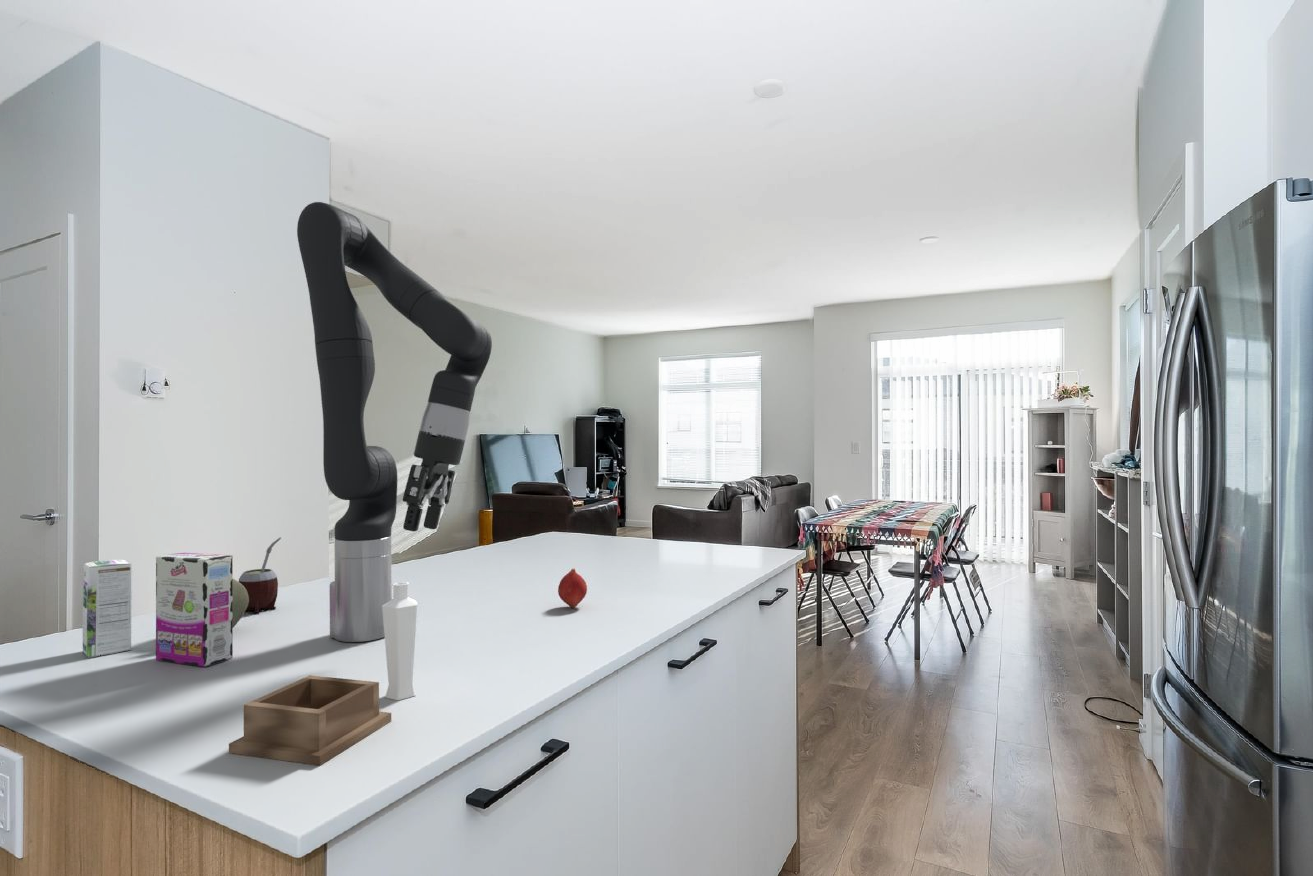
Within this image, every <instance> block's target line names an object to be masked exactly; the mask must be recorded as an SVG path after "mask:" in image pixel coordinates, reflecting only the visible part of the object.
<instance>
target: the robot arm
mask: <svg viewBox="0 0 1313 876" xmlns="http://www.w3.org/2000/svg"><path fill="white" fill-rule="evenodd" d="M296 226H297V227H296V235H297V236H296V237H297V241H298V247H299V252H300V257H301V260H302V261H301V262H302V266H303V270H304V274H305V278H306V282H307V288H308V295H309V302H310V309H311V316H312V317H311V318H312V324H313V332H314V333H313V334H314V346H315V348H314V349H315V356H316V364H317V371H318V376H319V377H318V378H319V385H320V386H319V388H320V389H319V390H320V396H321V397H320V398H321V408H322V410H321V411H322V420H323V427H322V428H323V441H322V442H323V451H322V452H323V458H322V459H323V463H322V464H323V475H324V479H325V482H326V486H327V487H328V490H329V491H330V492H331V493H332V495H334V497H336V498H337V499H340V500H344V501H348V502H349V503H348V507H347V510H346V512H345V513H344V514H343V516H342V517H341V518H339V519H338V520H337V521H336V523H335V524H334V537H333V538H334V543H333V545H334V580H333V581H331V582H330V583H329V638H332V639H335V640H337V641H339V642H344V643H359V642H369V641H374V640H379V639H383V638H385V635H384V623H383V611H382V605H384V604H386V603H387V602H389V601H390V600H392V599H393V598H392V597H393V596H392V594H393V593H392V589H393V585H392V584H393V583H392V529H393V528H392V527H393V524H394V521H395V520H396V519H395V518H396V516H397V501H398V500H397V499H398V468H397V464H396V460H395V459H394V457H393V455H392V453H390V452H389V451H388V450H387V449H385V448H384V447H381V446H378V445H367V440H366V434H365V424H364V422H365V421H364V415H365V414H364V413H365V407H366V404H367V400H368V397H369V394H370V392H371V389H372V385H373V382H374V377H375V373H376V363H375V362H376V360H375V355H374V345H373V337H372V332H371V330H370V327H369V325H368V322H367V320H366V317H365V316H364V314H363V312H362V310H361V308H360V306H359V305H358V302H357V301H356V299H355V297H354V295H353V293H352V290H351V288H350V285H349V281H348V279H347V278H348V277H347V274H346V273H347V272H346V267H348V268H349V269H352V270H353V271H355V272H356V273H358V274H360V275H362V276H363V277H365V278H367V279H368V280H369V281H370V282H372V283H373V284H374V285H375V286H376V287H377V289H378V290H379V292H380V293H381V294H382V296H383V297H384V298H385V300H386V301H387V302H388V303H389V304H390V305H391V306H392V307H393V308H394V309H395V310H396V311H397V312H399V314H401V316H403V317H405V318H406V319H407V320H408V321H410V322H411V323H412V324H413V325H415V326H416V327H417V328H419V329H420V330H422V331H423V333H424V334H425V335H427V336H428V337H429V339H431V340H432V341H433V343H435V344H436V345H437V346H438V347H439V348H441V350H443V351H444V352H446V353H447V354H449V355H450V357H449V359H448V363H447V365H446V368H445V369H443V370H439V371H437V373H435V375H434V377H433V380H432V383H431V386H430V391H429V396H428V399H427V403H426V407H425V409H424V412H423V415H422V418H421V422H420V426H419V431H418V434H417V435H418V436H417V438H416V442H415V443H416V444H415V447H414V451H413V456H414V457H415V458H418V459H422V461H421V464H420V465H419V464H412V465H411V466H410V470H409V473H408V477H407V481H406V485H405V489H404V493H403V496H402V502H404V503H406V506H407V510H406V514H405V518H404V521H403V525H402V527H403V530H405V531H409V532H417V531H418V530H419V528H420V527H419V526H420V523H421V519H422V514H423V510H424V509H423V508H424V506H425V504H426V502H427V501H428V506H427V509H426V512H425V516H424V517H425V518H424V521H423V527H424V528H426V529H430V530H436V529H437V528H438V526H439V521H440V517H441V513H442V509H444V507H445V505H449V502H450V498H451V494H452V489H453V485H454V480H455V479H454V478H455V476H456V472H455V471H456V470H452V469H449V467H450V465H451V466H459V465H460V464H461V461H462V456H463V451H464V447H465V442H466V438H467V434H468V429H469V425H470V424H469V423H470V415H471V410H472V406H473V402H474V396H475V392H476V388H477V385H478V383H479V382H480V380H481V379H482V376H483V374H484V371H485V369H486V367H487V365H488V362H489V361H490V358H491V353H492V347H493V342H492V341H493V340H492V336H491V334H490V332H489V329H487V328H486V327H485V326H484V325H482V324H481V323H480V322H478V321H476V319H474V318H472V317H471V316H470V315H468V314H467V313H465V312H464V311H462V309H460V308H458V307H456V305H454V304H453V303H451V302H450V301H449V300H448V299H447V297H445V296H444V294H443V293H441V292H440V291H439V290H438V289H436V288H435V287H434V286H432V285H431V284H430V282H428V281H427V280H425V279H423V278H422V277H421V276H419V274H417V273H415V271H413V270H412V269H410V268H409V267H408V266H406V265H405V263H403V262H401V261H400V260H399V259H398V258H397V257H396V256H395V255H393V254H392V253H391V251H390V250H389V249H387V247H386V246H384V244H383V243H382V242H381V241H380V240H379V238H378V237H376V235H375V234H374V233H373V232H372V231H371V230H370V228H369V227H368V226H367V225H366V224H365V223H364V222H363V221H362V220H361V219H360V218H359V217H357V216H356V215H354V214H353V213H350V212H347V211H345V210H343V209H341V208H339V207H337V206H335V205H332V204H329V203H326V202H322V201H314V202H310V203H309V204H307V205H306V206H305V207H304V208H303V209H302V211H301V212H300V215H299V217H298V220H297V225H296Z"/></svg>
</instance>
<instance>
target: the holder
mask: <svg viewBox="0 0 1313 876" xmlns="http://www.w3.org/2000/svg"><path fill="white" fill-rule="evenodd" d="M391 722H392V712H387V711H380V681H370V680H363V679H362V680H361V679H350V678H340V677H330V676H321V675H314V674H313V675H307V676H306V677H305V676H304V677H303V678H300V679H299V680H296V681H293V682H292V683H290V684H288V685H284V686H283V687H280V688H278V689H276V690H274V691H272V692H270V693H267V694H264V695H262V696H261V697H258V698H256V699H254V700H251V701H249V702H247V703H243V736H241V737H239V738H236V739H235V740H233V741H231V742H229V743H228V753H230V754H234V755H235V754H236V755H243V756H251V757H257V758H265V759H270V760H271V759H272V760H279V761H287V762H293V763H299V764H307V765H315V766H322V765H324V764H325V763H327V762H328V761H330V760H332V759H333V758H335V757H336V756H338V755H340V754H341V753H343V752H344V751H346V750H348V749H349V748H351V747H352V746H354V745H355V744H357V743H359V742H360V741H362V740H363V739H365V738H367V737H368V736H370V735H372V734H373V733H375V732H376V731H378V730H380V729H381V728H383V727H384V726H386V725H387V724H389V723H391Z"/></svg>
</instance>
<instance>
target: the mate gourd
mask: <svg viewBox="0 0 1313 876" xmlns="http://www.w3.org/2000/svg"><path fill="white" fill-rule="evenodd" d="M281 539H282V537H278V538H277V539H275V541H273V542H272V543H271V544H270V545H269V547H267V549H266V552H265V553H266V554H265V556H264V557H265V558H264V560H263V563H262V567H261V568H258V569H250V570H245V571H243V572H242V573H241V574H240V576H239V578H238V582H240V583H241V584H242V585H243V586H244V587H245V589H246V590H247V593H248V596H249V603H248V606H247V609H246V610H245V612H244V614H245V613H254V615H259V614H260V613H261V612H264V611H275V610H276V608H277V607H276V605H275V604H276V601H277V598H278V593H279V592H278V591H279V590H278V589H279V587H278V586H279V581H278V576H277V573H276V572H275V571H274V570H273V569H272V568H271V569H270V568H266V566H267V563H268V560H269V557H270V554H271V553H272V550H273V549H272V548H273V547H274V546H275V545H276V544H277V543H278V542H279V541H280V540H281Z"/></svg>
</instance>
